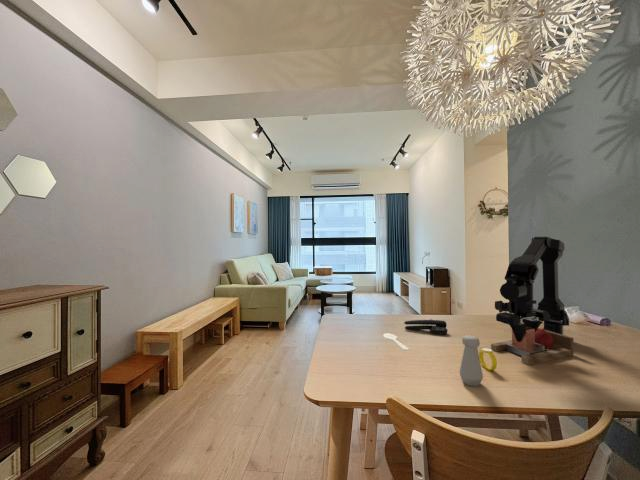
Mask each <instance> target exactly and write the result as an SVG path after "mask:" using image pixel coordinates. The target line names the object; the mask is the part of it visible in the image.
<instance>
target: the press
mask: <svg viewBox="0 0 640 480" xmlns="http://www.w3.org/2000/svg"><path fill="white" fill-rule="evenodd" d="M511 340H512V343H508V344H506V350H505V351H508V352H511V353H514V354H517V356H518V355H519V356H524V355H529V354H535V353H540V352H545V351H546V349H545V346H544V345H541V344H538V343H535V329H534V328H530V327H527V326H526V327H525V330H524V334H523V337H522V340H521V342H518V341H517V340H516V338H515V335H514V333H513V330H512V329H511Z"/></svg>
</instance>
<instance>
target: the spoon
mask: <svg viewBox="0 0 640 480" xmlns="http://www.w3.org/2000/svg"><path fill="white" fill-rule="evenodd" d="M383 337H384V338H385V339H387V340H391V341H393V342H394V343H395V344H396V345H397V346H399V347H400V348H401V349H402V350H403V349H404V351H408V350H410V348H409V347H407V346H406V345H405V344H404V343H401V342H400V341H399V340H398V336H397V335H396V334H393V333H390V332H385V333H383Z"/></svg>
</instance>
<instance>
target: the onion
mask: <svg viewBox="0 0 640 480" xmlns="http://www.w3.org/2000/svg"><path fill="white" fill-rule="evenodd" d="M535 343H538V344H541V345H544V346H545V350H549V348H550V347H551V346H552V345H553V338H552V336H551V335H550V334H549V333H548V332H547V331H545V330H544V327H541V330H539V331H537V332H535Z"/></svg>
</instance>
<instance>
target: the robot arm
mask: <svg viewBox="0 0 640 480" xmlns="http://www.w3.org/2000/svg"><path fill="white" fill-rule="evenodd" d="M564 251H565V244H564V242H563V241H561V240H560V239H555V238H551V237H550V236H534V237H532V239H531V242H530V244H528V247H527V248H526V250H525V251H524V252H523V253H522V255H521V256H517V257H515V258H514V259H513V260H511V262H510V263H509V265H508V267H507V269H506V273H505V275H504V280H506V282H505V283H503V284H502V285H501V286H500V289H499V293H500V295H501V297H503V299H505V300H508V302H504V301H503V300H495V301H494V309H495V310H496V311H498V313H496V315H495V321H496V322H500V323H502V324H506V325H509V326H510V328H511V331H512V330H513V333H514V335H515V338H516V340H517V341H518V342H521V340H522V337H523V334H524V330H525V327H526V326H527V327H530V328H534V329H535V331H536V330H537V328H540V326H541V325H542V324H543V328H544V330H548V331H551V332H555V333H558V334H562V335H564V327H566V326H568V327H569V326H570V317H569V315H568V313H567V310H566V309H565V304H564V303H563V301H561V299H560V298H559V297H560V296H559V268H558V267H559V266H558V265H559V264H558V262H559V260H560V259H561V258H562V256H563V255H564V254H563V253H564ZM539 260H540V261H541V262H542V290H543V296H542V297H543V298H542V299H541V300H540V301H539V302H538V303H537V300H535V299H534V283H535V280H536V278H537V276H538V273H539V268H538V262H539ZM535 304H537V305H538V306H537V308H534V305H535Z"/></svg>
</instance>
